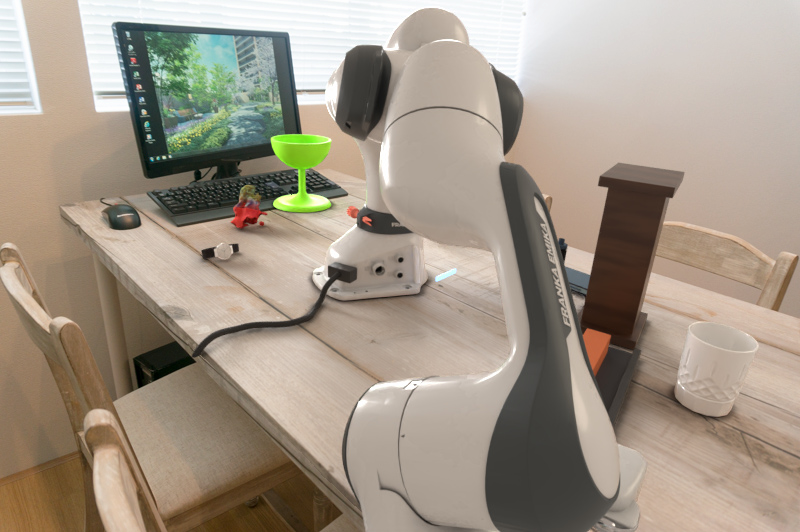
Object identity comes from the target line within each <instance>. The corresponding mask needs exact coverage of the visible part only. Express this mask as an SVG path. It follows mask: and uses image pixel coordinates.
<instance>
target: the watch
mask: <svg viewBox="0 0 800 532" xmlns="http://www.w3.org/2000/svg"><path fill="white" fill-rule="evenodd" d="M200 252H201V255H202V258H203V259H211V258H218V259H220V260H227V259H229V258H230V257H231V256H232V255H233V254H235V253H239V252H240V245H239V243H231V244H228V243H226V242H223V241H221V243H218V245H217V246H213V247H207V248H204V249H201V250H200Z"/></svg>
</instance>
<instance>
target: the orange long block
mask: <svg viewBox="0 0 800 532" xmlns="http://www.w3.org/2000/svg"><path fill="white" fill-rule="evenodd" d="M610 338H611V335H609V334H605V333H602V332H598V331H595V330H592V329H588V328H587V330H586V331H585V333H584V334H583V339H584V343H585V346H586V350H587V353H588V357H589V360H590V364H591V367H592V370H593V373H594V375H595V376H596V374H597V372H598V370H599V368H600V366H601V364H602V362H603V360H604V358H605V356H606V354H607V351H608V347H610V344H611V343H610Z"/></svg>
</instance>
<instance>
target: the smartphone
mask: <svg viewBox="0 0 800 532" xmlns="http://www.w3.org/2000/svg"><path fill="white" fill-rule="evenodd" d="M565 269H566V272H567V276H568V280H569V284H570V288H571V291H572V290H573V291H575V292H578V293H581V294H583V295H584V296H586V293H587V289H588V284H589V279H590V274H588V273H586V272H583V271H579V270H577V269H574V268H571V267H568V266H566V265H565Z"/></svg>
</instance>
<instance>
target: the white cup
mask: <svg viewBox="0 0 800 532" xmlns="http://www.w3.org/2000/svg"><path fill="white" fill-rule="evenodd" d="M682 347H683V348H682V351H681V356H680V359H679V366H678V369H677V378H676V382H675V386H674V390H673V391H674V398H675V399H676V400H677V401H678V402H679V403H680V404H681V405H682V406H683V407H685V408H687V409H688V410H690V411H692V412H695V413H697V414H699V415H703V416H707V417H716V418H719V417H724V416H728V414H729V413H730V412H731V411H732V408H733V406H734V404H735V401H736V399H737V398H738V397H739V394H740V392H741V390H742V388H743V386H744V383H745V381H746V379H747V377H748V375H749V372H750V369H751V367H752V364H753V362H754V360H755V358H756V355H757V353H758V350H759V348H760V344H759V342H758V341H757V339H755V337H753V336H752V335H750V334H749V333H748V332H746V331H743V330H742V329H739V328H737V327H734V326H731V325H729V324H724V323H720V322H715V321H704V320H703V321H695V322H692V323H690V324H689V325H688V326H687V330H686V334H685V339H684V343H683V346H682Z"/></svg>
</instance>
